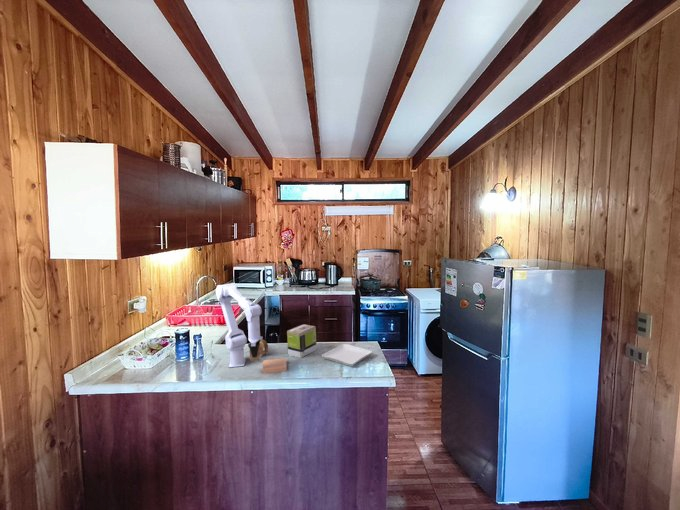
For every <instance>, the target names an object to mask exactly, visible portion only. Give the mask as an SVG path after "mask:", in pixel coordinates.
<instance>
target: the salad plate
mask: <svg viewBox="0 0 680 510" xmlns="http://www.w3.org/2000/svg"><path fill="white" fill-rule="evenodd" d="M372 353H373V351H372V350H369V349H366V348H362V347H359V346H355V345H351V344H347V343H346V344H345V343H341V344H340V345H338V346H336V347H334V348H332V349H330V350H329V351H326V352H324V353H322V354H321V356H322V358H323V359H326V360H328V361H332V362H335V363H338V362H339V364H342V365H345V366H349V367H352V366H354V365H355V364H357V363H359V362H360V361H362V360H363V359H366V358H367V357H369V356H370V355H372Z"/></svg>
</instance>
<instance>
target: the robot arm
mask: <svg viewBox="0 0 680 510" xmlns="http://www.w3.org/2000/svg"><path fill="white" fill-rule="evenodd" d="M215 295H216V298H217V301H218V302H219V303H220V306H221V310H222V313H223V316H224V317H223V318H224V321H225V324H226V327H227V330H228V331H227V333H226V334H225V336H224V339H225V347H226V349H228V350H229V364H228V368H235V367H238V368H239V367H244V366H245V363H246V360H247V359H246V358H245V356H244V355H245V353H244V352H245V351H244V348H245V347H246V344H247V342H248V341H249V343H248V345H247V347H248V348H249V351H250V350H251V354H252V357H253V358H254V357H257V353H258V348H259V345H260V344H259V343H260V340H261V339H262V340H263V336H261V328H260V327H261V324H260V323H261V322H260V316H261V315H262V313H263V311H262V307H261V305H260V304H256V303H254V302H253V301H251V299H249V298H248V296H243V295H242V293H241V292H240V291H239V290H238V285H236V283H235V282H231V283H224V284H218V285H216V288H215ZM232 300H235V301H236V302H237V303H238V306H239V307H240V308H241V309H242V311H244V315H245V318H246V321H247V330H248V332H247V333H248V336H246V335H245V333H244V330H242V329H240V328H239V327H238V322H237V320H236V315H235V313H234V309H233V306H232ZM247 337H248V338H247ZM250 343H251V344H250Z"/></svg>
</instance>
